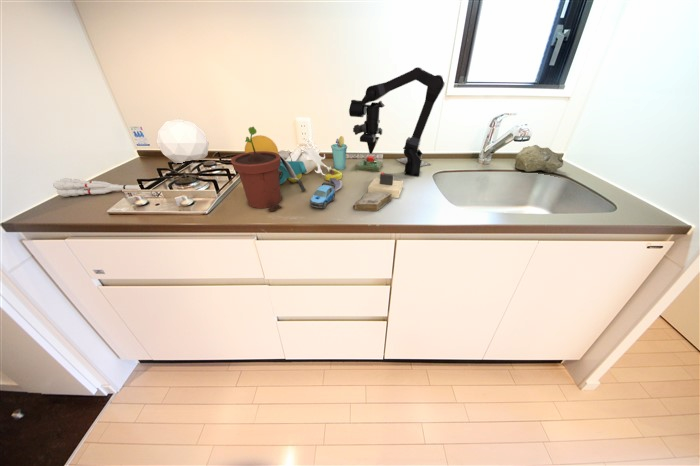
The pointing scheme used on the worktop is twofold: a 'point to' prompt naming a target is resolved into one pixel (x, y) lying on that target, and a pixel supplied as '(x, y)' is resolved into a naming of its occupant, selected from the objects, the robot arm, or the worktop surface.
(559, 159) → the rock
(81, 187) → the rocket model
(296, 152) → the white small pieces
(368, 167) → the box
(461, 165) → the worktop surface
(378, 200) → the stone
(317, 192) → the toy car
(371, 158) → the power button
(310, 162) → the white branched figurine
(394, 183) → the panel
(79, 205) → the worktop surface
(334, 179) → the knife
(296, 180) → the fruit
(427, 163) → the napkin holder
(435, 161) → the worktop surface
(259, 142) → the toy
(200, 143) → the geometric form
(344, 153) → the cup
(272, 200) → the potted plant
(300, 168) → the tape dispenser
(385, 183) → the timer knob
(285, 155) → the seashell
